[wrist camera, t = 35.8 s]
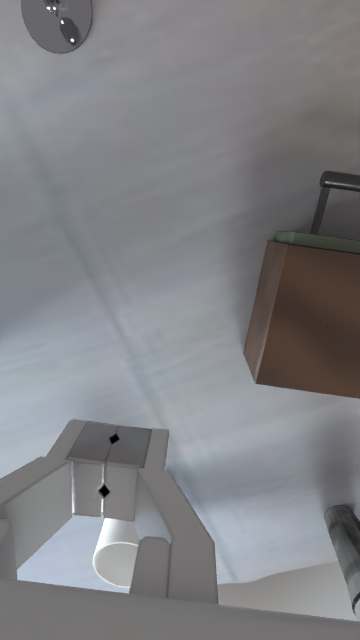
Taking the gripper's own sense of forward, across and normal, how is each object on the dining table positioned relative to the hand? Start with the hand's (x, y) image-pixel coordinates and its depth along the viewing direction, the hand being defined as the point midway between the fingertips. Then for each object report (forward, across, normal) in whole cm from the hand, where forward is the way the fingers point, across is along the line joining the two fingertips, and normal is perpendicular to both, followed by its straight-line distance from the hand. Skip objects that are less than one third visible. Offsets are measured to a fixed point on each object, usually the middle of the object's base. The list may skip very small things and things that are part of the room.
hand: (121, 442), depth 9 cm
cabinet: (+29, -16, +2) cm, 33 cm away
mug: (+29, +1, +34) cm, 45 cm away
